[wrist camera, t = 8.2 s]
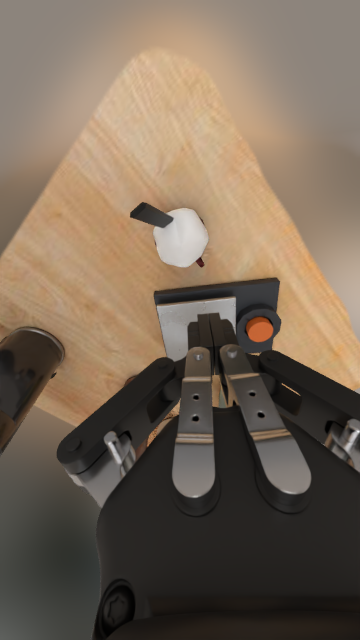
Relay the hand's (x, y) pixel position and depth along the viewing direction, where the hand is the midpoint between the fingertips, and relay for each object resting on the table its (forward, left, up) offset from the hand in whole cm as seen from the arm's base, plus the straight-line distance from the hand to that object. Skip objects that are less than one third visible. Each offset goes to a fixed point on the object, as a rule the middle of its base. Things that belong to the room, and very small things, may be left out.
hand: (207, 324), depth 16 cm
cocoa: (-2, +3, -18) cm, 19 cm away
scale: (+2, -12, -18) cm, 22 cm away
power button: (+8, -12, -15) cm, 21 cm away
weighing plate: (-1, -12, -15) cm, 19 cm away
